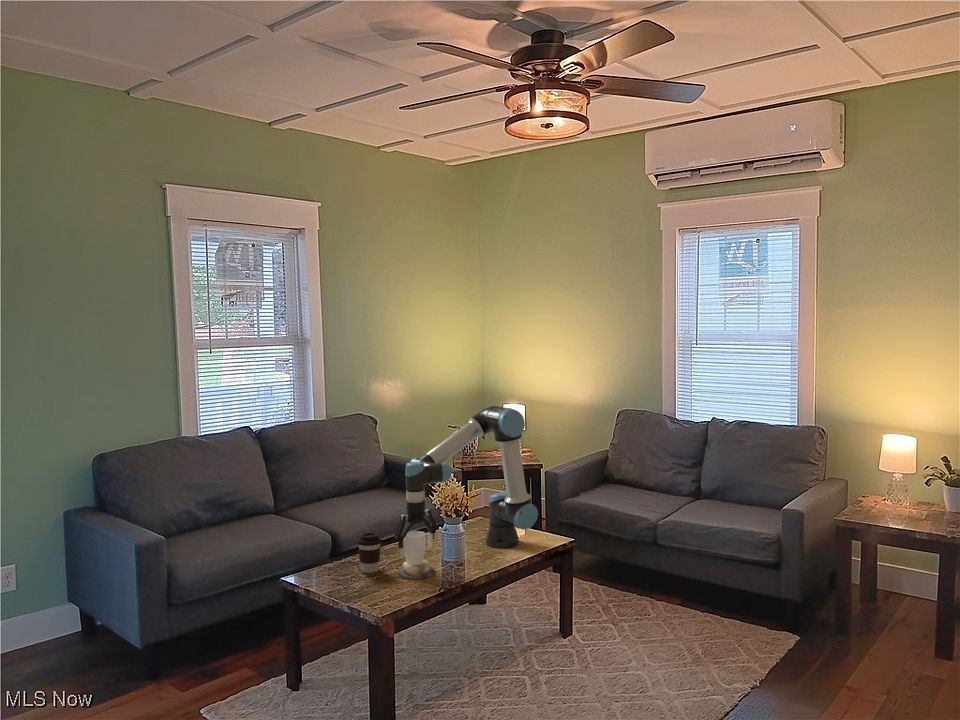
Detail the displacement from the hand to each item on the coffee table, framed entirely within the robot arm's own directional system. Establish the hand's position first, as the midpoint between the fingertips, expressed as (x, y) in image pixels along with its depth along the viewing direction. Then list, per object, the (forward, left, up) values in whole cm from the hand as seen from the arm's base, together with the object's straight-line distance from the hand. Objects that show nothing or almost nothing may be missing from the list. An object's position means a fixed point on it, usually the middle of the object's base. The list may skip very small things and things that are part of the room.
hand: (416, 552), depth 320 cm
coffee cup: (+14, -14, -9) cm, 22 cm away
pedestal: (0, 0, -9) cm, 9 cm away
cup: (0, -1, -5) cm, 5 cm away
